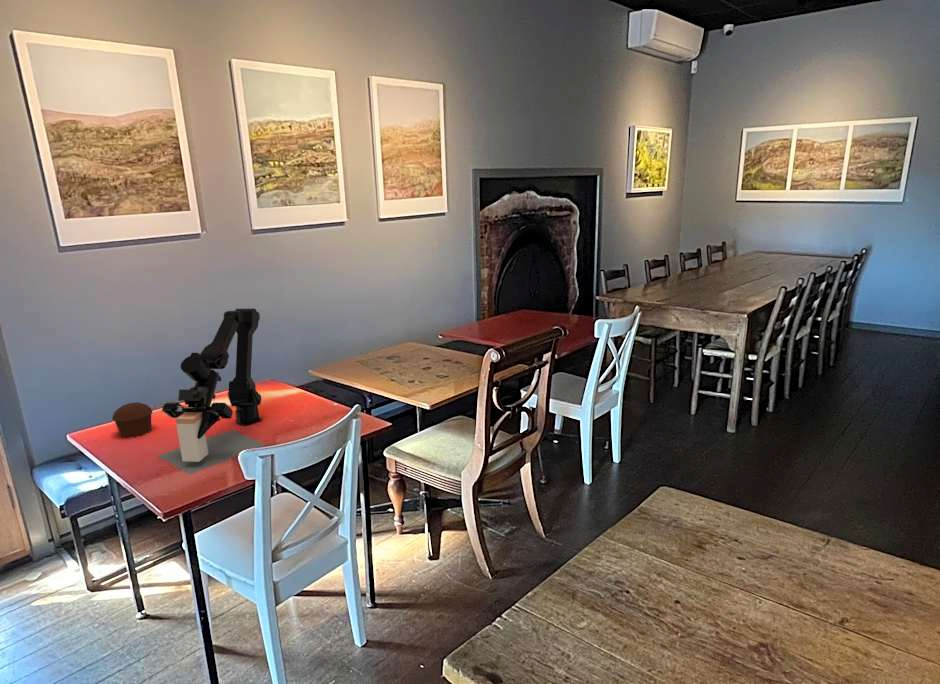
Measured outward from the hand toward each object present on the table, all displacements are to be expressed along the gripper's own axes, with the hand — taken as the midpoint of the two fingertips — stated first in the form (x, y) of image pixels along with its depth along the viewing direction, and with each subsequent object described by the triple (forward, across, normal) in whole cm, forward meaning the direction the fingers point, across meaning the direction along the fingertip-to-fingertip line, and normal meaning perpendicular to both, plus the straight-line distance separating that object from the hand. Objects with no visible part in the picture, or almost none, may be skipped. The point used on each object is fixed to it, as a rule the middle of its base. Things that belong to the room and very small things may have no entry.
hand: (189, 438), depth 165 cm
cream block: (+4, 0, +6) cm, 7 cm away
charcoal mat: (-1, 0, +14) cm, 14 cm away
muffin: (-10, -34, +23) cm, 42 cm away
